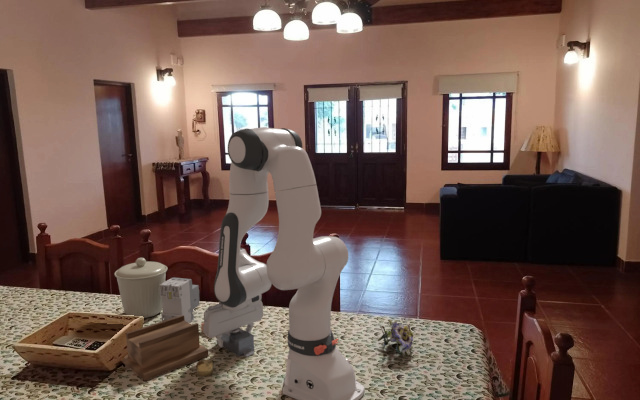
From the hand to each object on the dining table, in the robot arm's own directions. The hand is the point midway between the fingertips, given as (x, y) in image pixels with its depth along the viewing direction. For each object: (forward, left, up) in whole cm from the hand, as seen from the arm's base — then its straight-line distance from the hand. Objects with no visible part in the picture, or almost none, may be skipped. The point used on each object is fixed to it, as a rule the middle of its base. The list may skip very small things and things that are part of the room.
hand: (234, 341), depth 150 cm
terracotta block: (+15, -1, -2) cm, 15 cm away
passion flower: (-37, -33, -2) cm, 50 cm away
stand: (+9, +19, -2) cm, 21 cm away
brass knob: (-7, +15, -2) cm, 17 cm away
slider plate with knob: (0, 0, -2) cm, 2 cm away
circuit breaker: (+31, +1, -2) cm, 31 cm away
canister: (+46, +8, -2) cm, 47 cm away
